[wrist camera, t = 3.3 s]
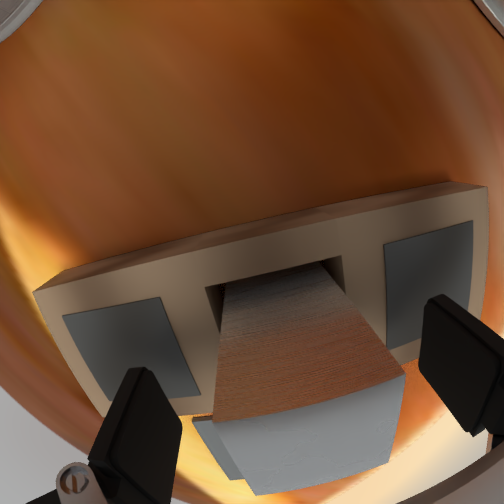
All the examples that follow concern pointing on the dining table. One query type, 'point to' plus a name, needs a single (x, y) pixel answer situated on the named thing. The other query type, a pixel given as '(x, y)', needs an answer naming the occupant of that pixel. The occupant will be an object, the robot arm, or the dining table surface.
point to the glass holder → (15, 15)
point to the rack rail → (260, 262)
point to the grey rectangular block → (302, 382)
